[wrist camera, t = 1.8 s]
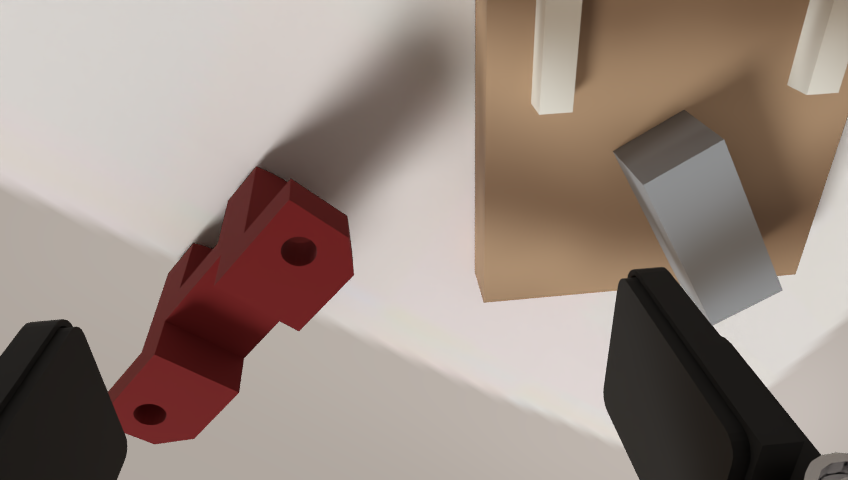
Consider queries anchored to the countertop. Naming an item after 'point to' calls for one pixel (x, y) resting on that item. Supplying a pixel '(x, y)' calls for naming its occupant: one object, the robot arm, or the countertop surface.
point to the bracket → (232, 305)
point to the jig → (653, 142)
